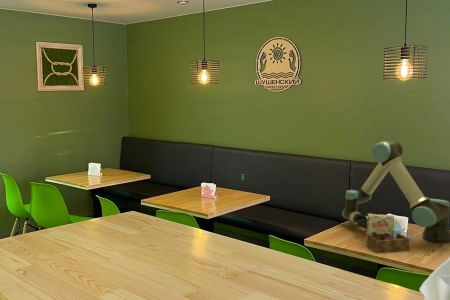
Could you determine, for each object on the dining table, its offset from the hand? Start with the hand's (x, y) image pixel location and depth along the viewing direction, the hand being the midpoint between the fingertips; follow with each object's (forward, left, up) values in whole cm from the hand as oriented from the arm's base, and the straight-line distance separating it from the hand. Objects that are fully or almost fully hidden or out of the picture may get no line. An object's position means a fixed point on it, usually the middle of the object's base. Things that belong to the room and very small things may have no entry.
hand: (378, 230), depth 256 cm
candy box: (+1, +3, -7) cm, 8 cm away
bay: (0, +9, -7) cm, 12 cm away
